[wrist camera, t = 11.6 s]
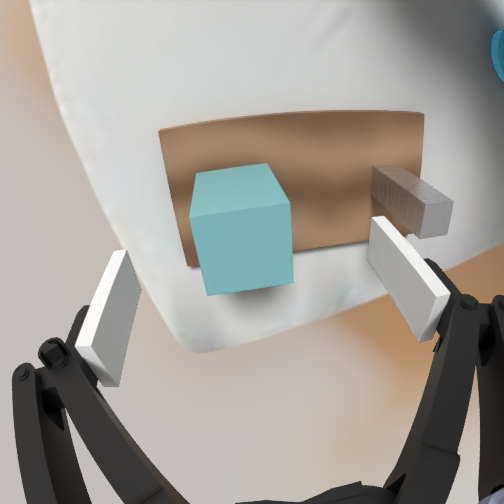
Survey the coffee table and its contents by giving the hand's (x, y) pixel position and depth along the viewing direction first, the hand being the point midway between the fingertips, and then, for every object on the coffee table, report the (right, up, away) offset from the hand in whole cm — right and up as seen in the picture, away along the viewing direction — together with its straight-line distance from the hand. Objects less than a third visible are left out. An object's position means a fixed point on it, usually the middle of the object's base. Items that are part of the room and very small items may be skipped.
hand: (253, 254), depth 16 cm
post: (+11, +6, +9) cm, 16 cm away
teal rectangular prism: (-1, +4, +7) cm, 9 cm away
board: (+4, +6, +9) cm, 12 cm away
